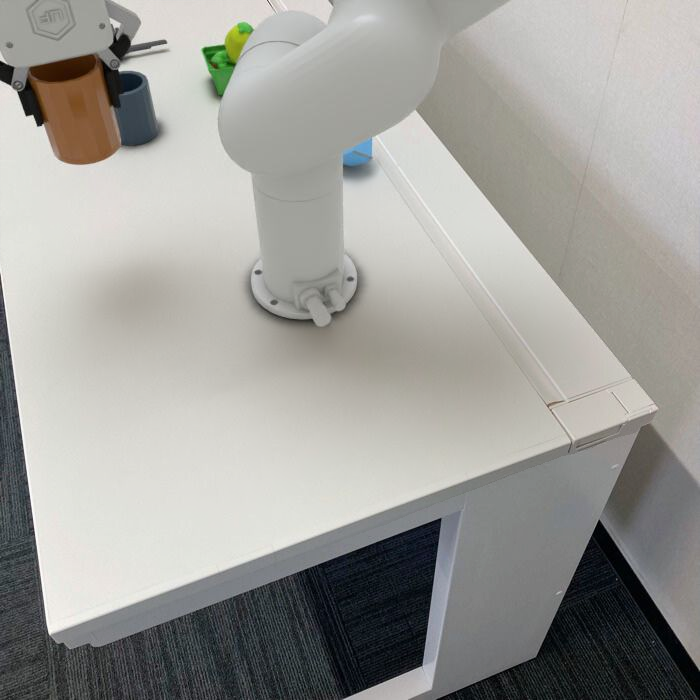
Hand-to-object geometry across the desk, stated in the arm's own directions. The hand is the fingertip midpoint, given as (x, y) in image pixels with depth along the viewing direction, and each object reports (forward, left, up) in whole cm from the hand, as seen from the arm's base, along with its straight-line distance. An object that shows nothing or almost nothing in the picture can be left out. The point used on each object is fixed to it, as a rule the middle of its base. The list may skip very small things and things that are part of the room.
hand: (76, 109), depth 78 cm
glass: (0, 0, -4) cm, 4 cm away
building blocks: (+12, -31, -22) cm, 40 cm away
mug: (+30, -8, -22) cm, 38 cm away
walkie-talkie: (+55, -9, -22) cm, 60 cm away
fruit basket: (+35, -27, -22) cm, 49 cm away
